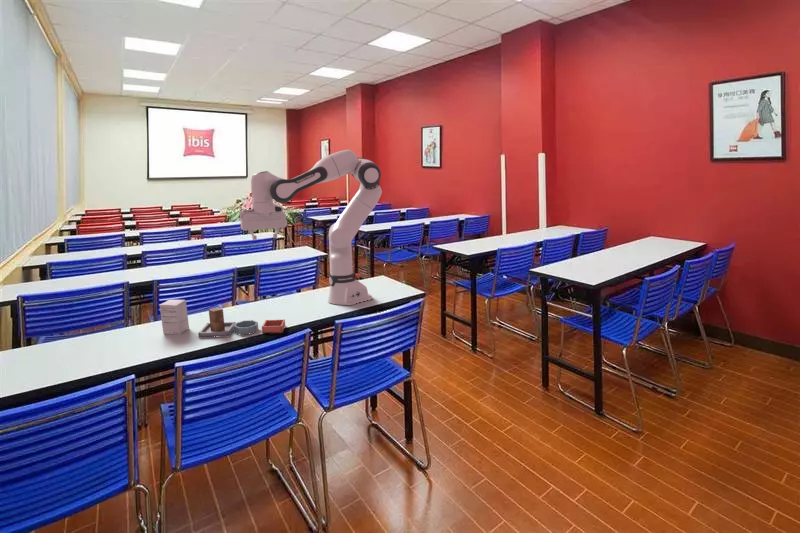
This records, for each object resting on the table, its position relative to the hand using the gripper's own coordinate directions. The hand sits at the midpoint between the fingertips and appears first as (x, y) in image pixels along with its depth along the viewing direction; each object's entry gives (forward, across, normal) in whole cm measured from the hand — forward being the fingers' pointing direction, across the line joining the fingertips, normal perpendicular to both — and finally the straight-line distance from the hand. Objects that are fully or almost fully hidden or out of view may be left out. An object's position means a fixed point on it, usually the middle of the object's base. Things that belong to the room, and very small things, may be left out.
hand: (265, 238), depth 207 cm
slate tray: (+34, -27, -16) cm, 46 cm away
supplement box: (+34, -41, -6) cm, 54 cm away
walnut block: (+33, -27, -16) cm, 46 cm away
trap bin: (+34, -6, -27) cm, 44 cm away
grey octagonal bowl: (+34, -16, -22) cm, 44 cm away
